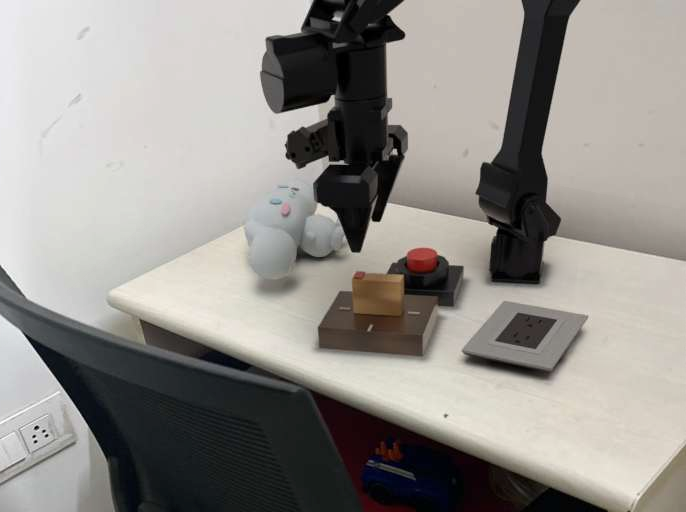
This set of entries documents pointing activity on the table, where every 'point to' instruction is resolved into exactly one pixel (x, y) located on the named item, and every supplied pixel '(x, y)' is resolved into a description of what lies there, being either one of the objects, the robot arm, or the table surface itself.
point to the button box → (431, 280)
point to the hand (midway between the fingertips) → (366, 236)
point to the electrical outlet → (525, 336)
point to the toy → (287, 229)
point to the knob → (378, 293)
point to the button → (422, 259)
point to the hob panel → (379, 327)
